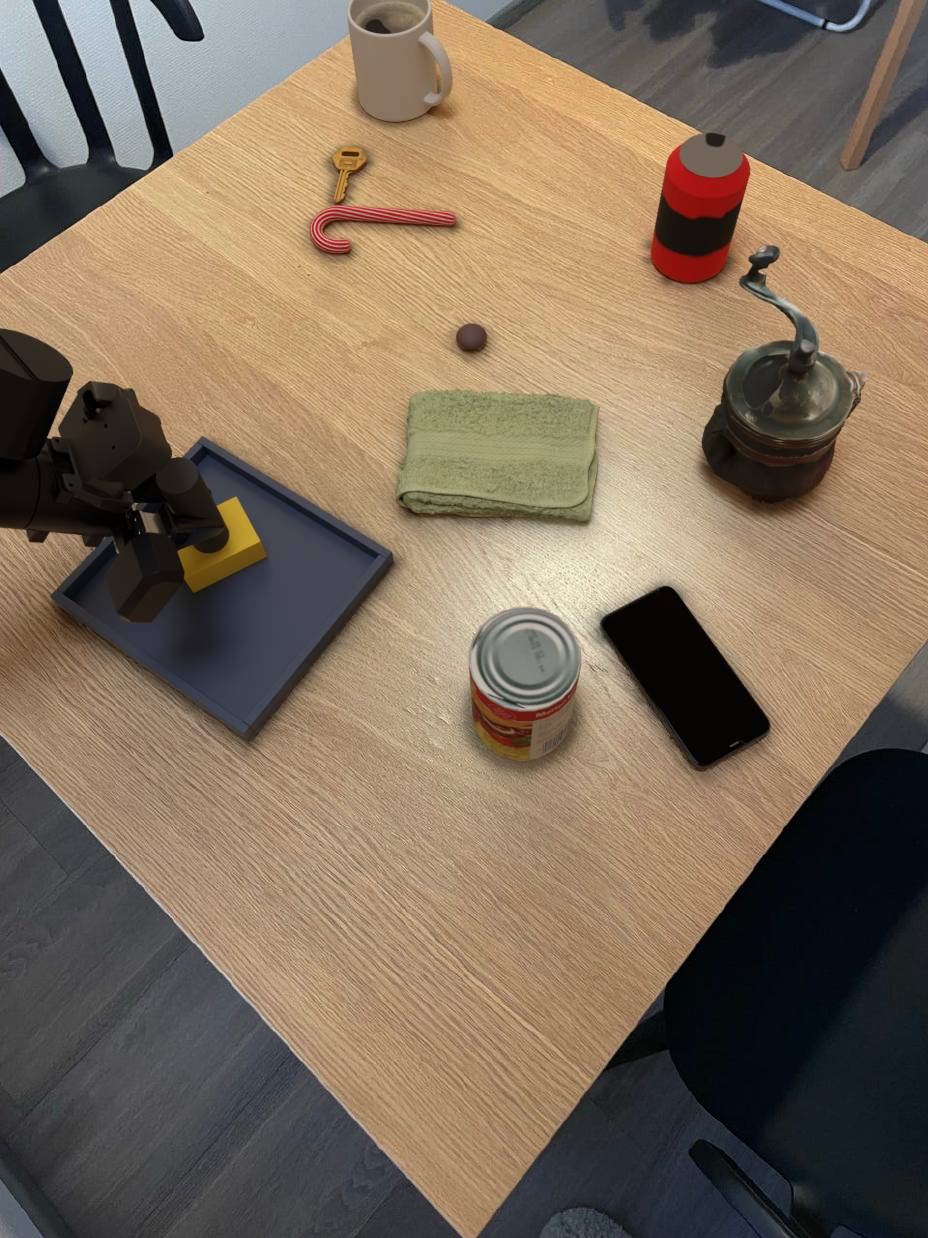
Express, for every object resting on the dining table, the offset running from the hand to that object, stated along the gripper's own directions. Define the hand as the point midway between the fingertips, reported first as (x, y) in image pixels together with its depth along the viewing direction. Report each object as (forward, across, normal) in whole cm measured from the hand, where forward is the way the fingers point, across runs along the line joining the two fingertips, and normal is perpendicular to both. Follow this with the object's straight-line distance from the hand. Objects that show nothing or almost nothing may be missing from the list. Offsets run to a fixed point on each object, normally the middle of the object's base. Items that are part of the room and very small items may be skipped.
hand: (215, 512), depth 79 cm
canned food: (+17, -24, -6) cm, 30 cm away
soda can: (+42, +13, -32) cm, 55 cm away
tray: (+4, -3, +6) cm, 8 cm away
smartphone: (+26, -26, -16) cm, 40 cm away
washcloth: (+23, -1, -12) cm, 26 cm away
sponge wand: (+4, 0, +6) cm, 7 cm away
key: (+23, +39, -12) cm, 47 cm away
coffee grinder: (+37, -10, -27) cm, 47 cm away
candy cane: (+24, +30, -13) cm, 40 cm away
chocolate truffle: (+25, +13, -15) cm, 32 cm away
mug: (+30, +47, -20) cm, 59 cm away
